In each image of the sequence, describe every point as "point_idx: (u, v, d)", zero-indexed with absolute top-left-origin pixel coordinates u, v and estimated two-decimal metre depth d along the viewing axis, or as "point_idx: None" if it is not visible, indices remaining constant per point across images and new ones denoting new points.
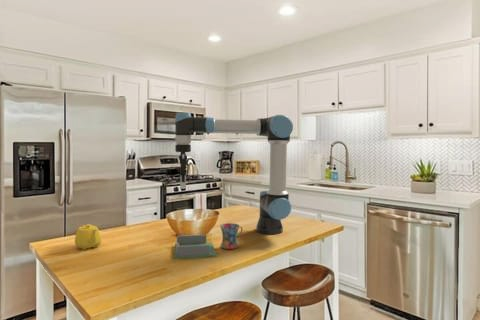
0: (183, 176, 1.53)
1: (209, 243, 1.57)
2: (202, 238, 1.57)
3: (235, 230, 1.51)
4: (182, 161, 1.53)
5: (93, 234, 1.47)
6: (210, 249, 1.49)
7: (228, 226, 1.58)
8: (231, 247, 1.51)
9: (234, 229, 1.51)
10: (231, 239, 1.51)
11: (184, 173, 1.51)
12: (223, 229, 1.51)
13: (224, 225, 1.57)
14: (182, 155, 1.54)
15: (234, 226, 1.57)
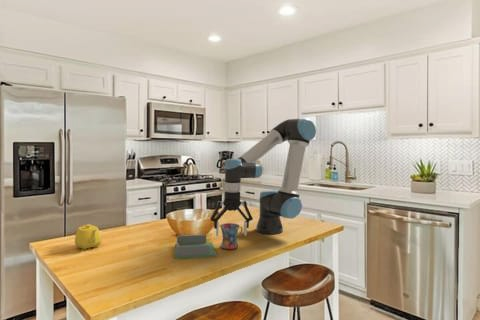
0: (214, 223, 1.53)
1: (209, 243, 1.57)
2: (202, 238, 1.57)
3: (235, 230, 1.51)
4: None
5: (93, 234, 1.47)
6: (210, 249, 1.49)
7: (228, 226, 1.58)
8: (231, 247, 1.51)
9: (234, 229, 1.51)
10: (231, 239, 1.51)
11: None
12: (223, 229, 1.51)
13: (224, 225, 1.57)
14: (218, 202, 1.53)
15: (234, 226, 1.57)
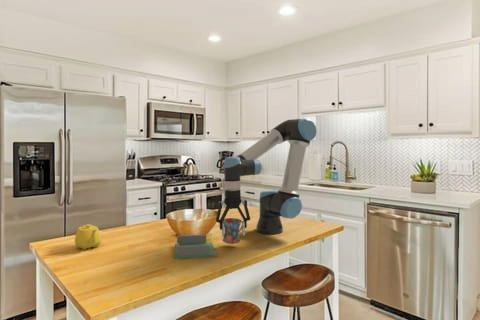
0: None
1: (209, 243, 1.57)
2: (202, 238, 1.57)
3: (238, 225, 1.52)
4: (218, 209, 1.54)
5: (93, 234, 1.47)
6: (210, 249, 1.49)
7: (229, 221, 1.59)
8: (234, 242, 1.52)
9: (237, 224, 1.52)
10: (233, 234, 1.52)
11: (216, 221, 1.53)
12: (226, 224, 1.52)
13: (226, 220, 1.58)
14: (218, 202, 1.54)
15: (235, 221, 1.58)
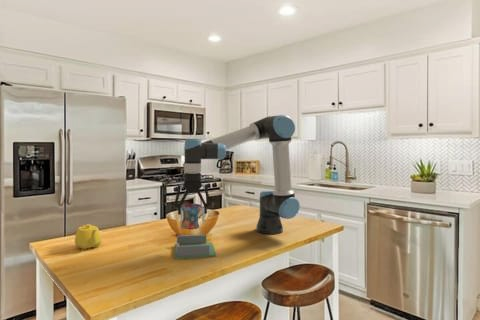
0: (178, 208, 1.47)
1: (209, 243, 1.57)
2: (202, 238, 1.57)
3: (197, 210, 1.45)
4: (177, 192, 1.47)
5: (93, 234, 1.47)
6: (210, 249, 1.49)
7: (189, 206, 1.51)
8: (192, 227, 1.44)
9: (196, 208, 1.44)
10: (192, 219, 1.45)
11: (174, 205, 1.46)
12: (184, 208, 1.44)
13: (185, 205, 1.50)
14: None
15: (196, 206, 1.51)
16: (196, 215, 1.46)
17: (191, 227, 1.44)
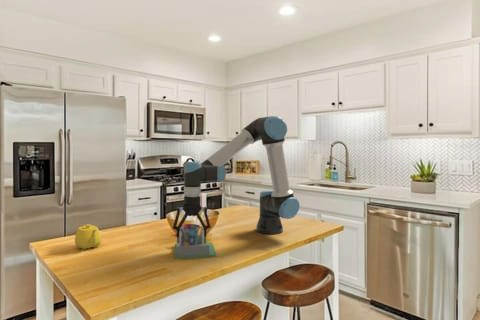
0: None
1: (209, 243, 1.57)
2: None
3: (195, 231, 1.46)
4: (176, 215, 1.47)
5: (93, 234, 1.47)
6: (210, 249, 1.49)
7: (188, 227, 1.52)
8: None
9: (194, 230, 1.45)
10: (191, 240, 1.45)
11: None
12: (182, 230, 1.45)
13: (184, 226, 1.51)
14: (177, 208, 1.47)
15: (194, 227, 1.51)
16: (195, 236, 1.46)
17: None
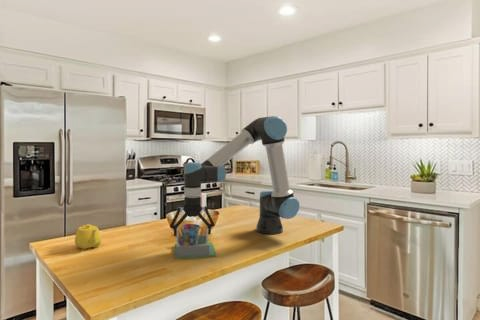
0: None
1: (209, 243, 1.57)
2: (202, 238, 1.57)
3: (195, 231, 1.46)
4: (175, 214, 1.47)
5: (93, 234, 1.47)
6: (210, 249, 1.49)
7: (188, 227, 1.52)
8: None
9: (194, 230, 1.45)
10: (191, 240, 1.45)
11: (170, 226, 1.46)
12: (182, 230, 1.45)
13: (184, 226, 1.51)
14: (177, 208, 1.47)
15: (194, 227, 1.51)
16: (195, 236, 1.47)
17: None
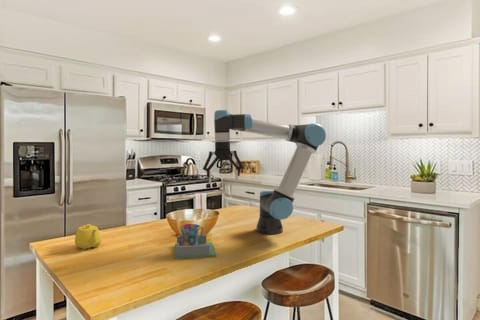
0: None
1: (209, 243, 1.57)
2: (202, 238, 1.57)
3: (195, 231, 1.46)
4: (207, 158, 1.61)
5: (93, 234, 1.47)
6: (210, 249, 1.49)
7: (188, 227, 1.52)
8: None
9: (194, 230, 1.45)
10: (191, 240, 1.45)
11: (203, 169, 1.60)
12: (182, 230, 1.45)
13: (184, 226, 1.51)
14: (209, 152, 1.61)
15: (194, 227, 1.51)
16: (195, 236, 1.47)
17: None
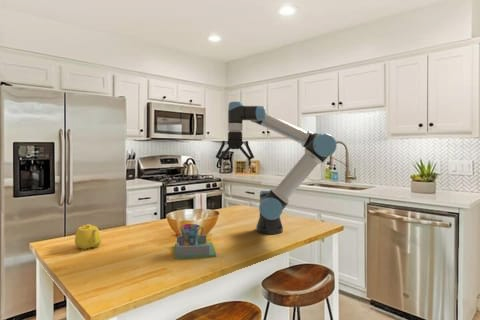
0: (219, 160, 1.69)
1: (209, 243, 1.57)
2: (202, 238, 1.57)
3: (195, 231, 1.46)
4: (220, 147, 1.69)
5: (93, 234, 1.47)
6: (210, 249, 1.49)
7: (188, 227, 1.52)
8: None
9: (194, 230, 1.45)
10: (191, 240, 1.45)
11: (216, 157, 1.68)
12: (182, 230, 1.45)
13: (184, 226, 1.51)
14: (222, 141, 1.69)
15: (194, 227, 1.51)
16: (195, 236, 1.47)
17: None
